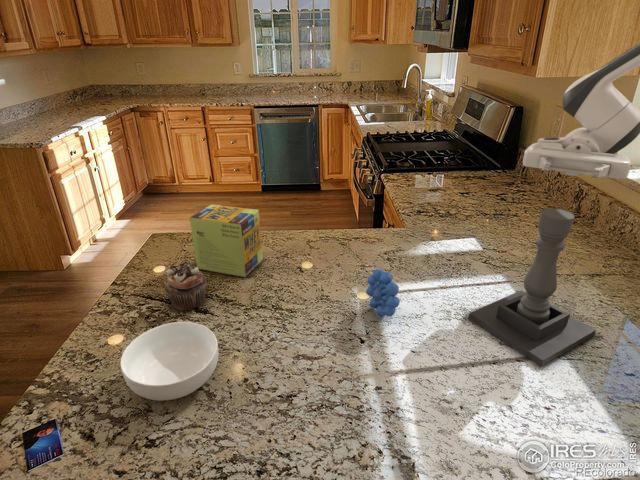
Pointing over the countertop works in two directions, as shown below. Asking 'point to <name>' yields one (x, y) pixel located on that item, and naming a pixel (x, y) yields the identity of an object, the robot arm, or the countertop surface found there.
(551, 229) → the candle holder
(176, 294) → the cupcake
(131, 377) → the cereal bowl
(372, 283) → the grapes
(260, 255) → the protein box
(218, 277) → the countertop surface
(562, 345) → the display stand
